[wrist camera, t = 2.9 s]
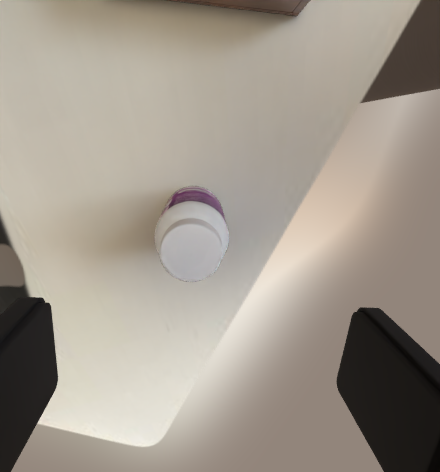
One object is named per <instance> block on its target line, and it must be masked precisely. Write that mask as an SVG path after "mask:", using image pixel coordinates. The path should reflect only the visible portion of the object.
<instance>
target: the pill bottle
mask: <svg viewBox="0 0 440 472" xmlns="http://www.w3.org/2000/svg"><path fill="white" fill-rule="evenodd" d="M228 243H229V231H228V226H227V223H226V220H225V217H224V213H223V210H222V207H221V204H220V202H219V200H218V199H217V197H216V196H215V195H214V194H213V193H212V192H210V191H209V190H207V189H205V188H202V187H198V186H189V187H184V188H182V189H180V190H178V191H176V192H175V193H174V194H173V195H172V196H171V197H170V198H169V200H168V202H167V204H166V205H165V208H164V210H163V212H162V214H161V217H160V219H159V221H158V223H157V226H156V230H155V245H156V249H157V251H158V253H159V255H160V259H161V262H162V265H163V267H164V268H165V269H166V271H167V272H168V273H169V274H170V275H172V276H173V277H175V278H177V279H179V280H182V281H186V282H196V281H201V280H203V279H206V278H207V277H209V276H211V275H212V274H213V273H214V272H215V271H216V270H217V268H218V267H219V265H220V263H221V260H222V258H223V256H224V255H225V253H226V251H227V248H228Z"/></svg>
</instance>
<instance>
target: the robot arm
mask: <svg viewBox="0 0 440 472" xmlns="http://www.w3.org/2000/svg"><path fill="white" fill-rule="evenodd" d="M57 382H58V373H57V363H56V353H55V343H54V332H53V322H52V312H51V305H50V304H49V303H45V301H44V299H43V298H35V297H20V298H18V299H17V300H16V301H15V302H14V303H13V304H12V305H11V306H10V307H8V308H7V309H6V310H5V311H4V312H3V313H2V314H1V315H0V472H11V470H12V468H13V467H14V465H15V463H16V461H17V459H18V457H19V456H20V454H21V452H22V450H23V448H24V446H25V444H26V443H27V440H28V439H29V437H30V435H31V434H32V431H33V430H34V428H35V426H36V424H37V423H38V421H39V419H40V417H41V415H42V413H43V412H44V410H45V408H46V406H47V404H48V402H49V401H50V399H51V397H52V395H53V393H54V391H55V389H56V386H57ZM337 388H338V391H339V393H340V394H341V396H342V398H343V400H344V401H345V403H346V405H347V407H348V408H349V410H350V412H351V414H352V416H353V417H354V419H355V421H356V423H357V425H358V426H359V428H360V430H361V432H362V433H363V435H364V437H365V439H366V440H367V442H368V444H369V446H370V448H371V449H372V451H373V453H374V455H375V456H376V458H377V460H378V462H379V464H380V465H381V467H382V469H383V471H384V472H440V364H439V363H438V362H437V361H435V359H433V358H432V357H431V356H430V355H429V354H428V353H427V352H426V351H425V350H424V349H423V348H422V347H421V346H420V345H419V344H417V343H416V342H415V341H414V340H413V339H412V338H411V337H410V336H409V335H408V334H407V333H406V332H405V331H404V330H402V329H401V328H400V327H399V326H398V325H397V324H396V323H395V322H394V321H393V320H392V319H391V318H389V316H387V315H386V314H385V313H384V312H383V311H382V310H381V309H379V308H359V309H358V311H357V312H354V313H353V315H352V318H351V322H350V326H349V331H348V335H347V339H346V343H345V347H344V351H343V356H342V359H341V363H340V368H339V372H338V376H337Z"/></svg>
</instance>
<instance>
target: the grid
mask: <svg viewBox="0 0 440 472" xmlns="http://www.w3.org/2000/svg"><path fill="white" fill-rule="evenodd" d="M169 1H177V2H185V3H194V4H202V5H211V6H219V7H227V8H236V9H244V10H253V11H261V12H269V13H278V14H286V15H295V16H298V14H299V13H300V12H301V11H302V10H303V8H304V7H305V6H306V5H307V4H308V2H309V1H310V0H169Z"/></svg>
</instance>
